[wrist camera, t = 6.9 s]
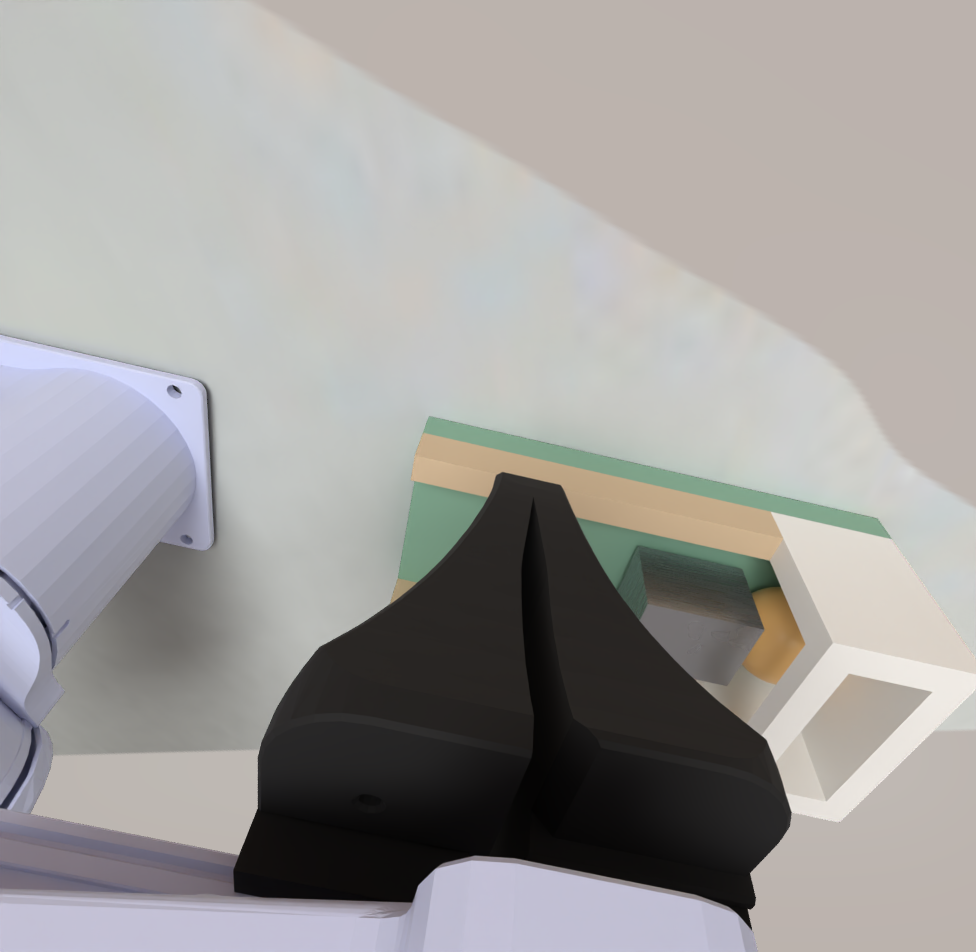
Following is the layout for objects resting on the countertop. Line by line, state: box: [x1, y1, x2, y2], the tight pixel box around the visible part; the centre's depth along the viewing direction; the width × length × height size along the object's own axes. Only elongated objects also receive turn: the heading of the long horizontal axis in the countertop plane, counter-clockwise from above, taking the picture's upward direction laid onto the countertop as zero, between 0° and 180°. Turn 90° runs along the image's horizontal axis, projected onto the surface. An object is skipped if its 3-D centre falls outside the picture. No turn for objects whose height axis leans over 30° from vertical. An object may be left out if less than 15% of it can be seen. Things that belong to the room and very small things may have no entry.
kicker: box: [618, 546, 765, 686], centre depth 23 cm, size 4×3×3 cm
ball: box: [742, 587, 805, 685], centre depth 23 cm, size 4×4×4 cm
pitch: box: [390, 416, 976, 822], centre depth 22 cm, size 17×8×7 cm, turn 78°
